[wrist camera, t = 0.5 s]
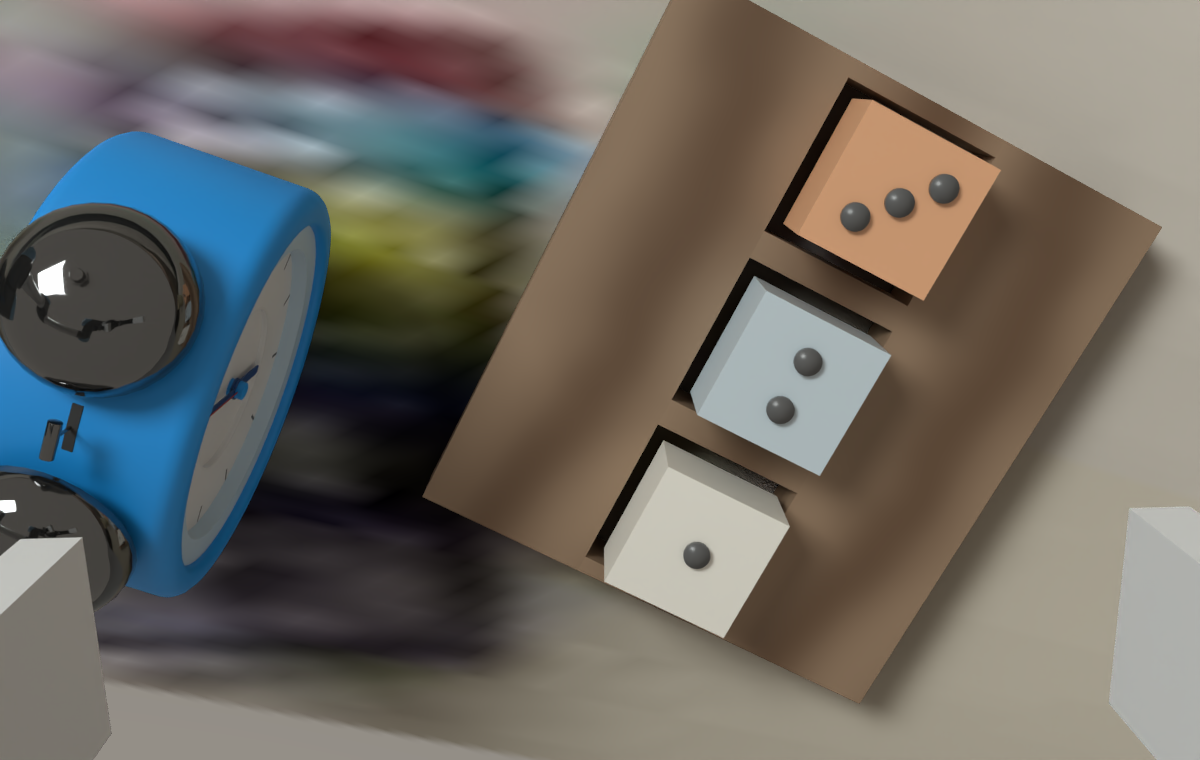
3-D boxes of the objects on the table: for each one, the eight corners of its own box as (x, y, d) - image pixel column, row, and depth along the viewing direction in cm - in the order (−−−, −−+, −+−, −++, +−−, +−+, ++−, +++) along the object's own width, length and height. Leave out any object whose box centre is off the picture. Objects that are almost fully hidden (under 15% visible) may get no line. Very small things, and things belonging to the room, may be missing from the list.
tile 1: (604, 548, 42) (604, 584, 39) (663, 440, 41) (668, 468, 38) (715, 601, 42) (724, 640, 39) (776, 496, 41) (790, 528, 38)
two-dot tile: (690, 391, 40) (697, 416, 37) (754, 275, 39) (767, 292, 36) (804, 448, 41) (820, 478, 38) (870, 336, 40) (892, 356, 37)
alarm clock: (265, 506, 44) (98, 719, 29) (105, 455, 43) (-147, 645, 28) (363, 177, 40) (232, 231, 26) (192, 117, 40) (-39, 137, 25)
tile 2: (783, 223, 39) (798, 235, 36) (852, 98, 38) (874, 99, 35) (900, 285, 39) (925, 302, 36) (971, 163, 38) (1003, 170, 35)
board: (431, 474, 43) (422, 496, 41) (683, -26, 39) (688, -33, 36) (845, 671, 45) (859, 703, 43) (1130, 219, 41) (1162, 227, 38)
